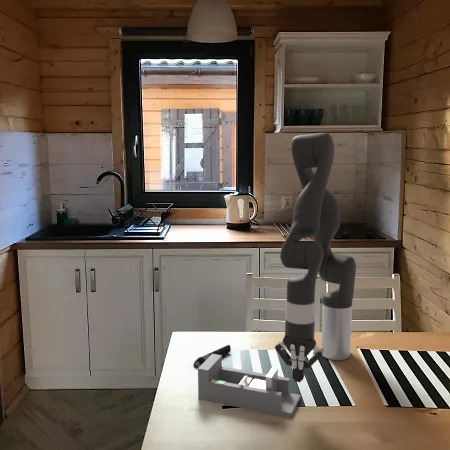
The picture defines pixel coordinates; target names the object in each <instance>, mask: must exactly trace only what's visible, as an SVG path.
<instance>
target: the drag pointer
mask: <svg viewBox="0 0 450 450" xmlns="http://www.w3.org/2000/svg"><path fill="white" fill-rule="evenodd" d="M252 381H253V378H252V377H248V376H244V378H243V379H242V380H241V381H240V383H239V384H238V386H241V385H244V386H249V385H250V384H251V382H252Z"/></svg>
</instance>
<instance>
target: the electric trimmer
mask: <svg viewBox="0 0 450 450" xmlns="http://www.w3.org/2000/svg"><path fill="white" fill-rule="evenodd" d="M231 350H232V349H231V345H230V344H227V345H224V346H222V347H221V348H218V349H216V350H214V351H212V352H210V353H207V354H205V355H203V356H199V357H198V358H196V359H195V361H194V362H193V368H196V369H198V368H199V367H200V366H201V365H202V364H203V363H204V362H205V361H206V360H207V359H208V358H209V357H210V355H211V354H217V355H222V359H223V358H225V357H226V356H227V355H229V354H230V353H231Z"/></svg>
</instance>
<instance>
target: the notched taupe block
mask: <svg viewBox="0 0 450 450" xmlns="http://www.w3.org/2000/svg"><path fill="white" fill-rule="evenodd" d="M278 368H279V367H274V366H272V367H271V368H270V369H269V371H268V373H266V374H267V375H266V380H263V379H258V378H254V379H253V381H252V382H251V384H250V385H249V387H255V388H260V389H266V390H271V391H276V390H277V389H278V376H279V369H278Z"/></svg>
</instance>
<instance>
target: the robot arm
mask: <svg viewBox="0 0 450 450" xmlns="http://www.w3.org/2000/svg"><path fill="white" fill-rule="evenodd" d="M290 148H291V149H290V150H291V156H292V160H293V164H294V167H295V170H296V174H297V176H298V179H299V183H300V187H301V188H302V190H301V192H300V194H298V197H297V198H296V201H295V202H294V206H293V214H292V221H291V226H290V229H289V231H288V233H287V236H286V238H285V240H284V242H283V244H282V247H281V248H280V255H279V256H280V261H281V264H282V265H283V266H284V267H285V268H289V269H299V270H307V272H306V273H305V274H301V275H296V276H292V277H290V278H288V280H287V285H286V304H285V313H284V318H285V319H284V321H285V322H284V337H283V338H282V341H278V342H277V343H276V345H275V346H274V349H275V350H276V352H277V354H278V355H279V356H280V358H281V359H282V361H283V362H284V363H285V364H286V366H291V368H292V375H291V376H292V379H293V380H294V382H296V383H301V382H302V381H304V378H305V371H306V370H305V369H310V368H311V367H312V366H313V365H314V364H315V363H316V362H317V361H318V360H319V359H320V358H321V357H324V358H326V359H329V360H333V361H343V360H344V361H345V360H347V359H349V358H350V357H351V342H352V340H351V339H352V321H353V320H352V318H353V317H352V316H353V301H354V300H353V299H354V294H355V284H356V283H355V281H356V272H357V265H356V260H355V258H354V257H353V256H350V255H343V254H338V253H334V252H333V251H332V248H331V247H332V246H331V243H332V242H333V241H332V240H333V238H334V237H335V235H336V234H337V232H338V231H339V228H340V226H341V220H342V219H341V212H340V207H339V203H338V201H337V199H336V197H335V196H334V195H333V193H332V192H330V190H329V189H328V188H327V186H328V181H329V179H330V175H331V171H332V166H333V163H334V158H335V144H334V140H333V138H332V136H331V134H330V133H328V132H317V133H308V134H307V133H306V134H300V135H295V136H294V137H293V138H292V141H291V147H290ZM312 168H314V169H315V168H316V169H315V172H314V171H313V169H312ZM311 237H313V241H312V240H311V241H309V240H302V239H307V238H311ZM318 275H319V278H320V279H321V280H322V281H324V282H327V283H331V284H334V285H335V284H336V285H338V286H339V287H338V290H331V291H328V292H325V293H324V294H323V296H322V316H321V347H320V346H319V347H318V346H317V341H316V340H315V327H316V322H315V321H316V304H315V303H316V302H315V297H316V294H315V293H316V285H317V284H316V283H317V279H318ZM312 351H313V352H312ZM311 352H312V356H311V357H310V358H309V359H308V360H307V356H308V355H309V354H310V353H311Z"/></svg>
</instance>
